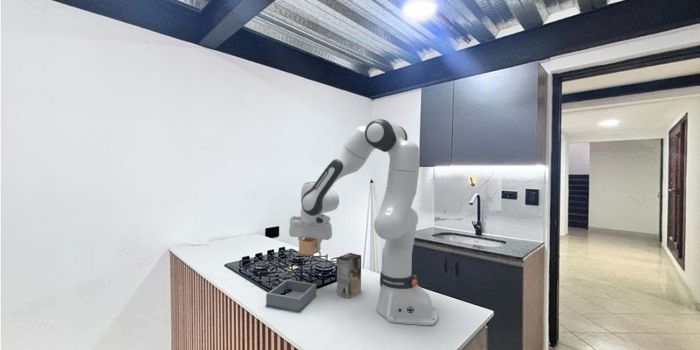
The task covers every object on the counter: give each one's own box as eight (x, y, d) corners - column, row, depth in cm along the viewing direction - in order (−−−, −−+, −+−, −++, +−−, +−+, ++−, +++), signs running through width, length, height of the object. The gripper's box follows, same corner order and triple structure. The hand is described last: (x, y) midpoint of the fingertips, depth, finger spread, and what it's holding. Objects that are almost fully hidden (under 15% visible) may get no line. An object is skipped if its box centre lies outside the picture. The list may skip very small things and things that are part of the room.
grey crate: (316, 296, 118) (316, 284, 118) (299, 313, 103) (299, 299, 103) (286, 291, 122) (286, 279, 122) (266, 306, 107) (266, 293, 107)
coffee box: (349, 288, 126) (350, 252, 126) (361, 292, 122) (362, 255, 122) (336, 295, 119) (337, 257, 119) (348, 299, 115) (349, 260, 115)
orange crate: (320, 250, 133) (320, 237, 133) (311, 256, 124) (311, 242, 124) (308, 248, 135) (309, 236, 135) (298, 254, 125) (299, 241, 125)
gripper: (286, 217, 129) (286, 247, 129) (328, 220, 123) (327, 251, 123) (293, 215, 135) (293, 243, 135) (333, 217, 129) (333, 248, 129)
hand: (310, 247), depth 129 cm, fingers closed on orange crate, 6 cm apart
